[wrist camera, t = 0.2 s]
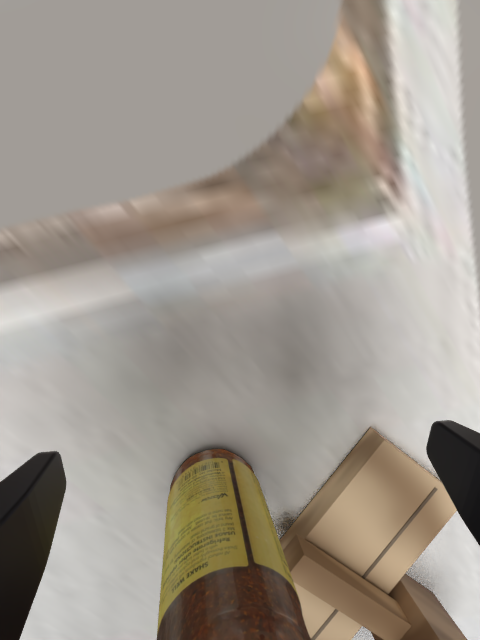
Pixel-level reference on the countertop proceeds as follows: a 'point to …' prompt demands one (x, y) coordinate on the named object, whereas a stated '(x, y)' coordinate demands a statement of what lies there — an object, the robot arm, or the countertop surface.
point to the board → (369, 524)
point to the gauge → (370, 597)
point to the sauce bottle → (224, 558)
